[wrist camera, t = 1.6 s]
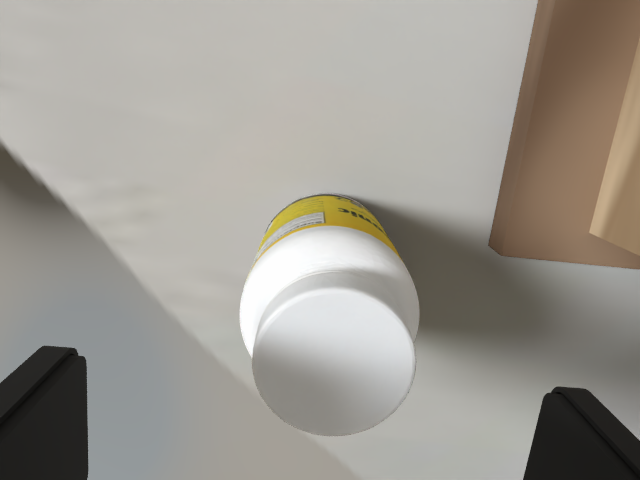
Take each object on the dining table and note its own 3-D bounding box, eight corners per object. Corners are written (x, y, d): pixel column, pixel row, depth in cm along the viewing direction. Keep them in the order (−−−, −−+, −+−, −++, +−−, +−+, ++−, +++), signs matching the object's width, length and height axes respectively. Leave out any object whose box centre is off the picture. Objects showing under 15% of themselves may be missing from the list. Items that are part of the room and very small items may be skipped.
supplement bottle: (409, 273, 21) (483, 405, 12) (302, 329, 22) (293, 497, 13) (349, 165, 20) (379, 218, 11) (238, 229, 21) (174, 332, 11)
